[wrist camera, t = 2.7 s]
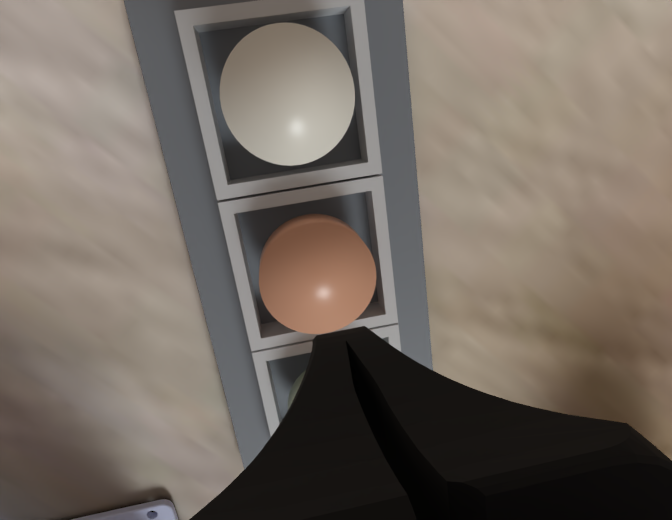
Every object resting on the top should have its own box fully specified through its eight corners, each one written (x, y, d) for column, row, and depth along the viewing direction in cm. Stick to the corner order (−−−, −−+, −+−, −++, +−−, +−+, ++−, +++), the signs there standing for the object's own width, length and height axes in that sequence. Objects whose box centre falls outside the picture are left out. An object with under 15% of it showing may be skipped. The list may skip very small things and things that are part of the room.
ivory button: (238, 169, 17) (235, 175, 15) (211, 40, 16) (205, 32, 14) (353, 151, 17) (362, 154, 16) (338, 23, 16) (345, 14, 14)
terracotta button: (270, 325, 19) (271, 343, 18) (249, 224, 18) (248, 234, 16) (373, 306, 19) (382, 322, 18) (360, 205, 18) (369, 213, 17)
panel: (245, 460, 24) (243, 494, 21) (130, 5, 17) (110, -10, 15) (432, 419, 24) (447, 448, 22) (394, -27, 18) (411, -46, 16)
